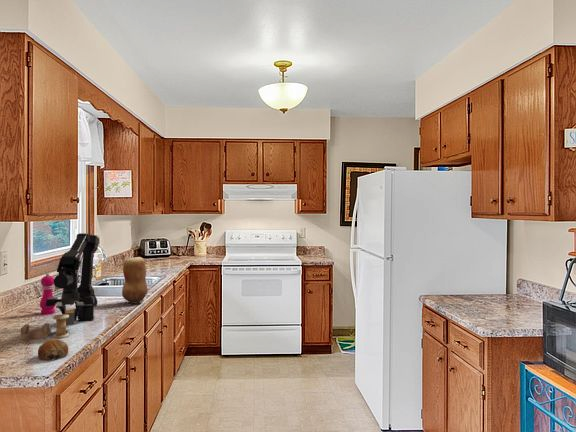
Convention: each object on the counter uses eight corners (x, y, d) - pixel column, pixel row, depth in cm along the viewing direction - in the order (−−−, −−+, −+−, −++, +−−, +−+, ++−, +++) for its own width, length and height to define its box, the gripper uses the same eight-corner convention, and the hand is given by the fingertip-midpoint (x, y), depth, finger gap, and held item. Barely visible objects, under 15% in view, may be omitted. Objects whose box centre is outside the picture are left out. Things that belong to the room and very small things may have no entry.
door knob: (70, 334, 211) (70, 313, 211) (67, 337, 205) (67, 317, 205) (54, 335, 210) (54, 314, 209) (51, 338, 204) (51, 317, 204)
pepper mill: (51, 311, 256) (51, 271, 256) (58, 313, 252) (58, 272, 251) (37, 313, 251) (36, 272, 250) (44, 315, 246) (43, 274, 246)
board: (51, 331, 215) (50, 321, 215) (45, 338, 205) (45, 327, 205) (27, 332, 213) (27, 322, 213) (20, 339, 202) (20, 328, 202)
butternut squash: (118, 302, 279) (118, 256, 279) (142, 299, 287) (142, 255, 287) (127, 306, 268) (127, 259, 268) (152, 303, 276) (152, 257, 276)
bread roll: (70, 363, 184) (74, 341, 187) (60, 359, 175) (64, 335, 178) (42, 363, 184) (46, 341, 187) (30, 359, 174) (35, 335, 178)
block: (75, 322, 221) (75, 308, 221) (74, 324, 217) (74, 310, 217) (67, 322, 220) (66, 308, 220) (65, 325, 216) (65, 310, 216)
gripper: (42, 288, 208) (42, 326, 208) (91, 286, 213) (91, 324, 213) (47, 284, 219) (48, 320, 219) (94, 282, 223) (94, 318, 224)
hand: (70, 321), depth 218 cm, fingers closed on block, 3 cm apart
